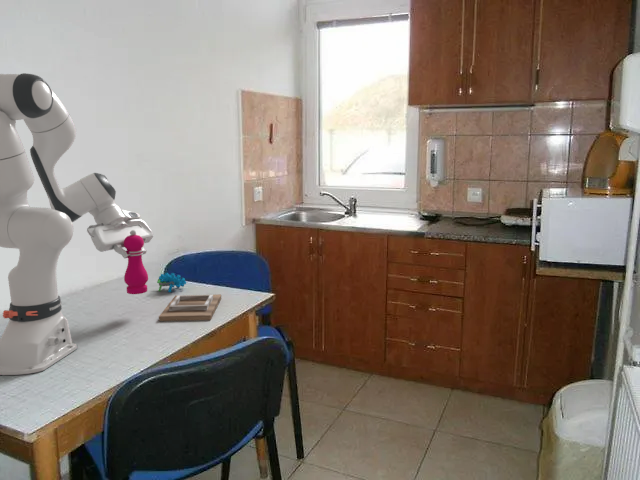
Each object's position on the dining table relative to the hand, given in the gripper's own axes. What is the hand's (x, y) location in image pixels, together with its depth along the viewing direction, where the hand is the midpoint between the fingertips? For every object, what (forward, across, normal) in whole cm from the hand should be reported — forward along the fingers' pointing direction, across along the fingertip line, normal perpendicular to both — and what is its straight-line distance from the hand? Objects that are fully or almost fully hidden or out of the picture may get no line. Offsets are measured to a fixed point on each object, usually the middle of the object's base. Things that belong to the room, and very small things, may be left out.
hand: (136, 255), depth 166 cm
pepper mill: (+8, 0, +9) cm, 12 cm away
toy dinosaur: (+5, +26, +23) cm, 35 cm away
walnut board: (+21, +13, +6) cm, 25 cm away
